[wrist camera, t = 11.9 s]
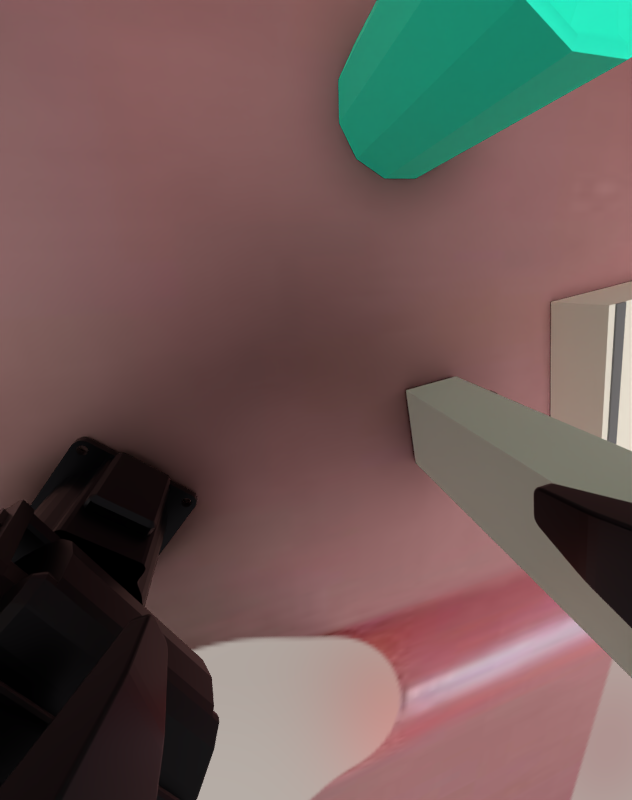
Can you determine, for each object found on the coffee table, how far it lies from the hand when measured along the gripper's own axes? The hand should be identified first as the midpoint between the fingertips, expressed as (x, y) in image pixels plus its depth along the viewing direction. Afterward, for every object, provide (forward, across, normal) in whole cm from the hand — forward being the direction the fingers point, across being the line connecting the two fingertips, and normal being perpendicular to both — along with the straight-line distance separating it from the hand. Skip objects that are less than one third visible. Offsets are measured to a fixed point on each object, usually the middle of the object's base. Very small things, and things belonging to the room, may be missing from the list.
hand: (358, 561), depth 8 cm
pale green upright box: (+12, -8, +3) cm, 15 cm away
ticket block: (+12, -19, +3) cm, 22 cm away
